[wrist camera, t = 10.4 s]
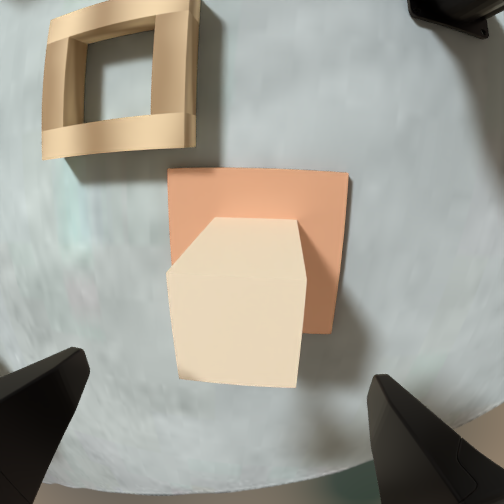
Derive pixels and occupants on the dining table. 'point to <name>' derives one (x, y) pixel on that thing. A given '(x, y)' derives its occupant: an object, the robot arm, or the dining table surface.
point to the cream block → (239, 303)
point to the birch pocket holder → (162, 89)
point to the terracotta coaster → (269, 207)
